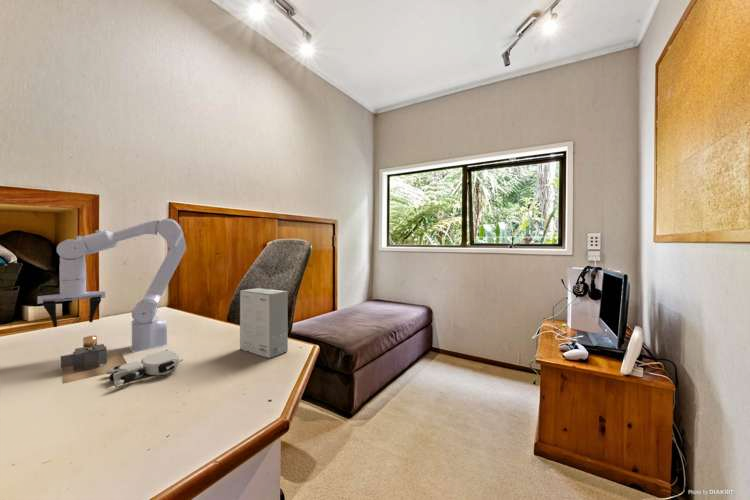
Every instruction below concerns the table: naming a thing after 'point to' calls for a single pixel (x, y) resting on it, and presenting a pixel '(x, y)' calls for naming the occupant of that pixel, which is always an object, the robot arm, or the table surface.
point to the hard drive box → (264, 321)
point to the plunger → (89, 341)
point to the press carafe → (86, 358)
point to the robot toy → (145, 367)
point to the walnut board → (112, 362)
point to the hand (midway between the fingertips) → (73, 324)
